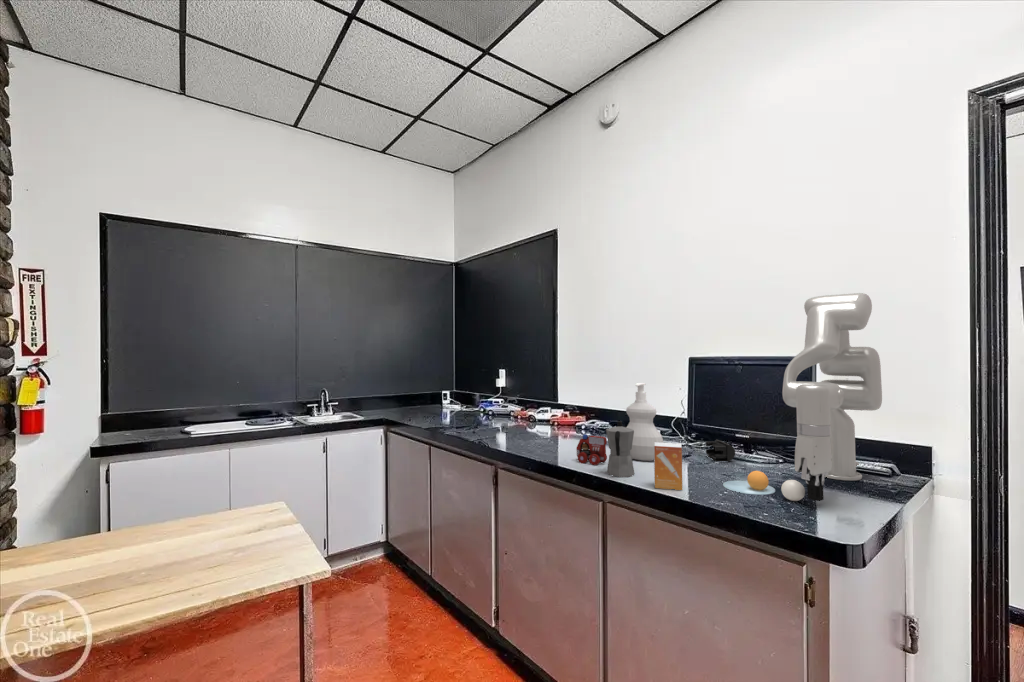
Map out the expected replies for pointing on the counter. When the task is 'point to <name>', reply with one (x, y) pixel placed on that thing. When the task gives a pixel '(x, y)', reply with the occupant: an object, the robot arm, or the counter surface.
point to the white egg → (793, 490)
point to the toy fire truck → (592, 449)
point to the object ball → (757, 480)
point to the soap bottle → (642, 427)
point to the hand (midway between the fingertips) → (815, 499)
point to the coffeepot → (620, 451)
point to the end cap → (720, 451)
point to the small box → (668, 465)
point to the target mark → (747, 488)
